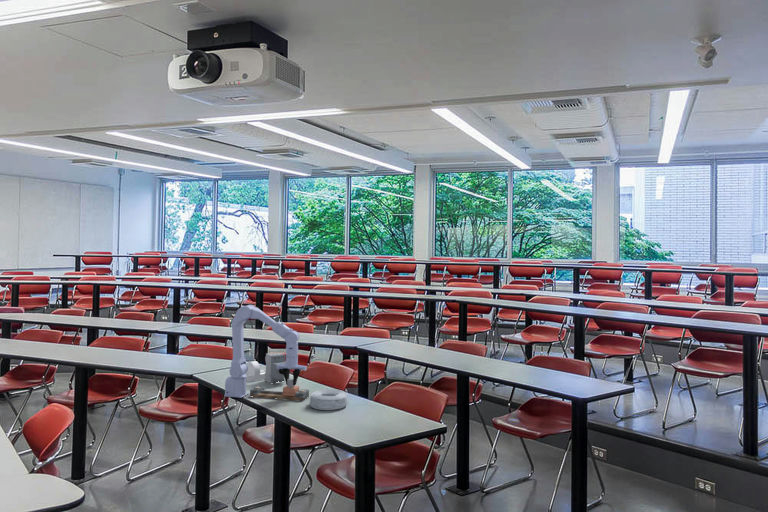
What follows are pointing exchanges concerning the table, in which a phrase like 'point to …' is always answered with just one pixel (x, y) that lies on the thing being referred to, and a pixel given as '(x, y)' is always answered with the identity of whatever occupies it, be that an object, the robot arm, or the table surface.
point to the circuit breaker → (274, 367)
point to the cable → (328, 399)
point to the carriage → (290, 388)
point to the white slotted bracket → (254, 372)
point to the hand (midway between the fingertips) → (291, 384)
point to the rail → (278, 394)
